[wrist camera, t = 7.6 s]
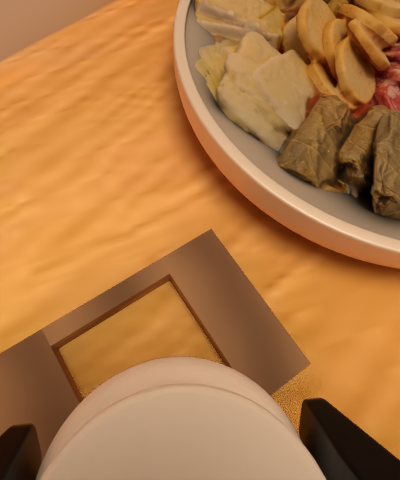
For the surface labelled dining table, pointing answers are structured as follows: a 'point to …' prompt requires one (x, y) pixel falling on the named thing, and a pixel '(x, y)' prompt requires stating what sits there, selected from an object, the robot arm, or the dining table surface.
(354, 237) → the bowl
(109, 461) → the supplement bottle
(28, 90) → the dining table surface
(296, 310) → the dining table surface
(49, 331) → the pocket board
